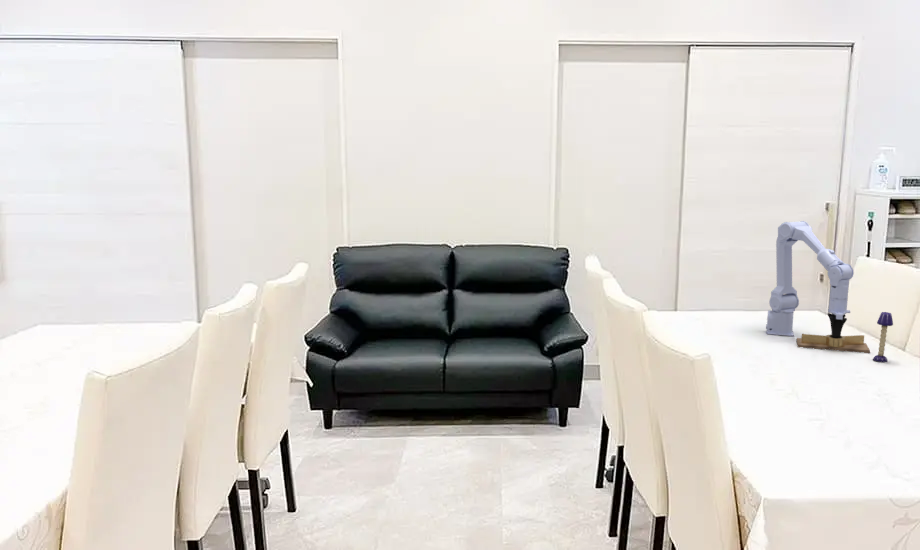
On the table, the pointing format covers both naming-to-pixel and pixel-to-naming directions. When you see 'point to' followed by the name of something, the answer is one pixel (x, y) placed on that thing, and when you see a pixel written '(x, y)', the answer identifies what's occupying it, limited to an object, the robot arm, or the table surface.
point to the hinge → (833, 340)
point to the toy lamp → (883, 334)
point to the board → (849, 348)
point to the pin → (835, 336)
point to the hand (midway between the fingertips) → (835, 335)
